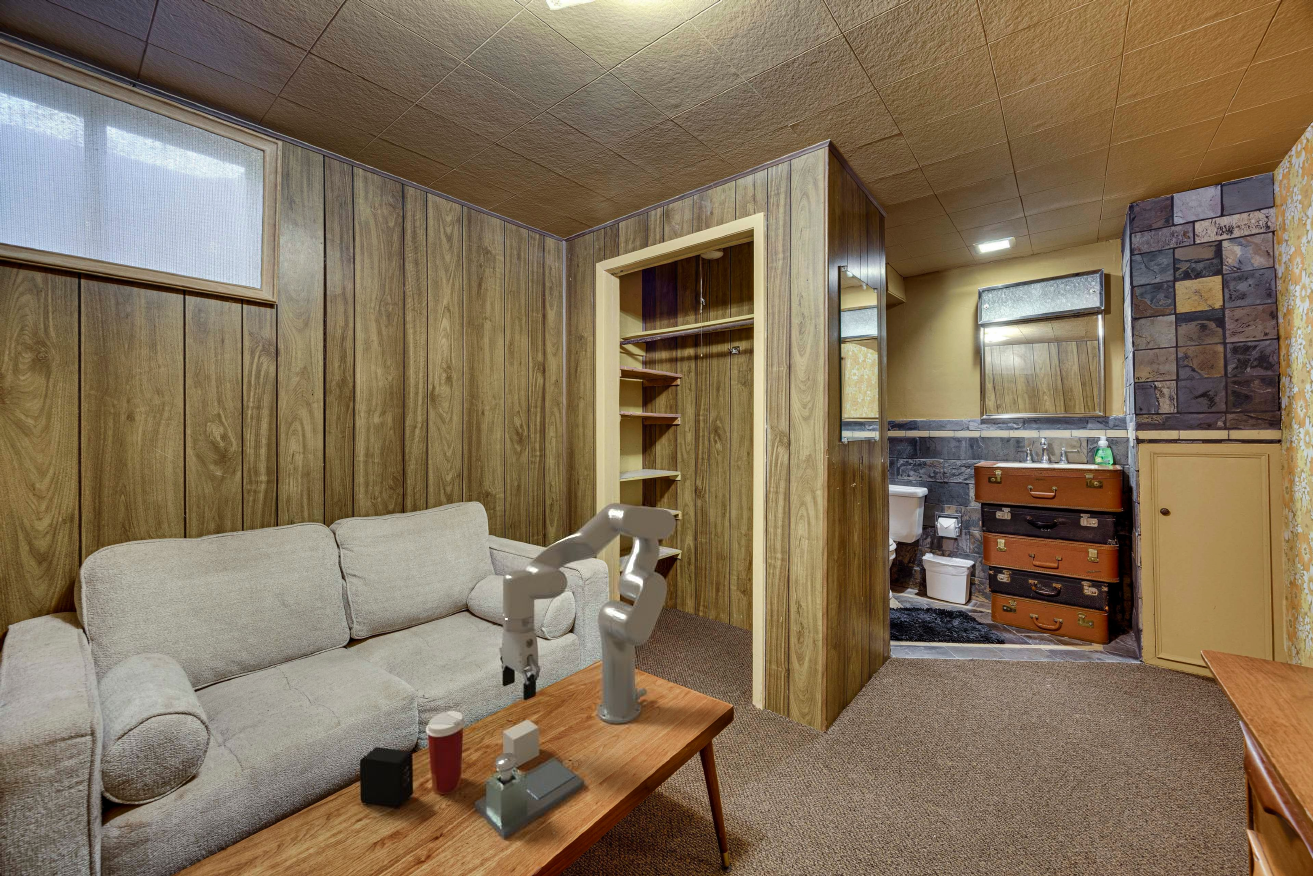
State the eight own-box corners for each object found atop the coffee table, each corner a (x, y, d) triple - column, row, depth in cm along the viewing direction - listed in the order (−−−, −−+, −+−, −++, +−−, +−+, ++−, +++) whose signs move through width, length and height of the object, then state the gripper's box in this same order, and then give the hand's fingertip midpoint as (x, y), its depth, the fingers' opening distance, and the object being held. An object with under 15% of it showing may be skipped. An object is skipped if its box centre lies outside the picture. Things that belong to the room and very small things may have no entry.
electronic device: (400, 810, 107) (399, 763, 107) (360, 803, 109) (359, 758, 109) (413, 796, 111) (412, 751, 111) (374, 790, 113) (373, 746, 113)
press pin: (510, 777, 108) (510, 750, 108) (521, 787, 105) (521, 759, 105) (491, 788, 105) (491, 760, 105) (502, 798, 102) (501, 769, 102)
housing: (528, 746, 128) (527, 719, 128) (539, 755, 125) (538, 727, 125) (503, 759, 123) (502, 731, 123) (514, 768, 120) (513, 739, 120)
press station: (553, 763, 122) (553, 730, 122) (584, 786, 113) (583, 751, 113) (475, 808, 107) (474, 771, 107) (504, 839, 99) (503, 799, 99)
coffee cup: (473, 776, 117) (472, 713, 117) (448, 801, 109) (447, 733, 109) (444, 769, 120) (443, 707, 120) (418, 792, 112) (417, 726, 112)
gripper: (551, 626, 121) (551, 697, 121) (514, 610, 133) (514, 674, 133) (524, 635, 115) (524, 710, 115) (487, 617, 127) (487, 684, 127)
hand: (518, 691), depth 124 cm, fingers open, 9 cm apart
